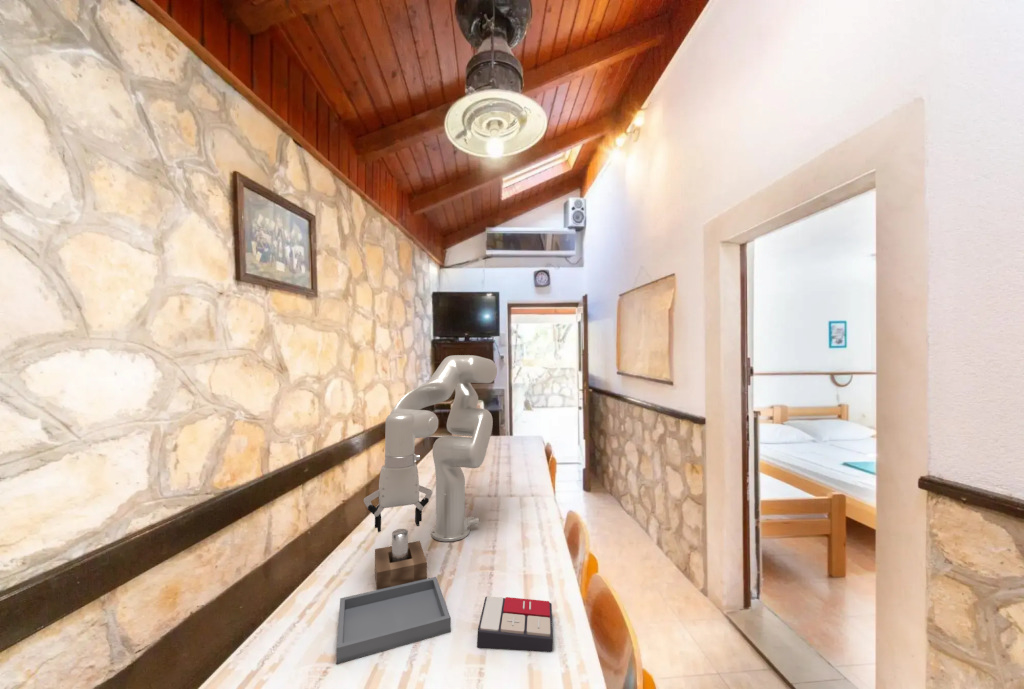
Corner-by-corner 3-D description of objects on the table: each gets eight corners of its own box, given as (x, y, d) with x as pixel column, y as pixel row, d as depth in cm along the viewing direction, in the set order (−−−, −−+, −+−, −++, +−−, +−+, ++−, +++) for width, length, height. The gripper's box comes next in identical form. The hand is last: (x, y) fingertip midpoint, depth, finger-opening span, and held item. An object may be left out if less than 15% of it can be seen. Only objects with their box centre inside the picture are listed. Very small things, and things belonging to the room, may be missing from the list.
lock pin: (406, 572, 102) (406, 527, 103) (408, 581, 99) (408, 534, 99) (391, 576, 101) (391, 530, 101) (392, 584, 97) (392, 537, 97)
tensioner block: (419, 562, 107) (419, 540, 108) (426, 586, 96) (426, 562, 96) (374, 571, 103) (374, 549, 103) (376, 597, 92) (376, 572, 92)
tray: (436, 588, 95) (436, 576, 95) (450, 631, 80) (450, 617, 80) (340, 611, 87) (340, 598, 87) (336, 664, 72) (336, 648, 72)
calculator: (553, 635, 75) (477, 627, 76) (552, 657, 75) (476, 649, 76) (551, 598, 86) (485, 592, 87) (550, 618, 86) (484, 611, 87)
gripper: (430, 454, 107) (429, 516, 106) (364, 460, 100) (362, 526, 100) (435, 461, 100) (434, 527, 99) (364, 467, 93) (363, 538, 93)
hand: (398, 527), depth 99 cm, fingers open, 9 cm apart
